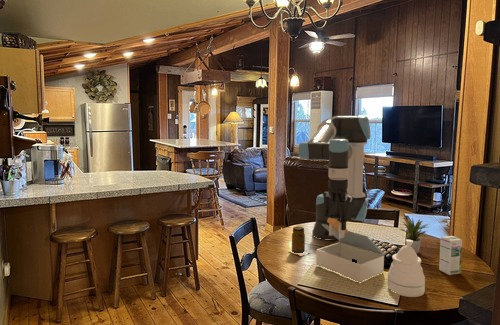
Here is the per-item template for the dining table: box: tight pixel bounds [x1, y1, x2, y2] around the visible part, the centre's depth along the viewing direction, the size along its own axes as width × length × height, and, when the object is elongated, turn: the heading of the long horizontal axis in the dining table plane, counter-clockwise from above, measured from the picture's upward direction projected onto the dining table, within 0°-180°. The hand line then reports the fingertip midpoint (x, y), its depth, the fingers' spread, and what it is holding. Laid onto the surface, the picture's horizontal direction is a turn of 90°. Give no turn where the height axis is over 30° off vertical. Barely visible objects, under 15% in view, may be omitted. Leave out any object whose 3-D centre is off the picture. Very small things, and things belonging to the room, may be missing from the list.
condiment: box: [291, 226, 306, 253], centre depth 175 cm, size 7×8×12 cm
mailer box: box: [315, 241, 385, 282], centre depth 155 cm, size 22×16×8 cm
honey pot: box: [386, 240, 426, 298], centre depth 137 cm, size 13×13×18 cm
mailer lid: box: [322, 218, 386, 257], centre depth 152 cm, size 22×25×2 cm
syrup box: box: [438, 235, 463, 276], centre depth 152 cm, size 6×6×14 cm
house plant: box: [399, 217, 429, 254], centre depth 175 cm, size 14×14×16 cm
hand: (336, 235), depth 148 cm, fingers closed on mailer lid, 4 cm apart
